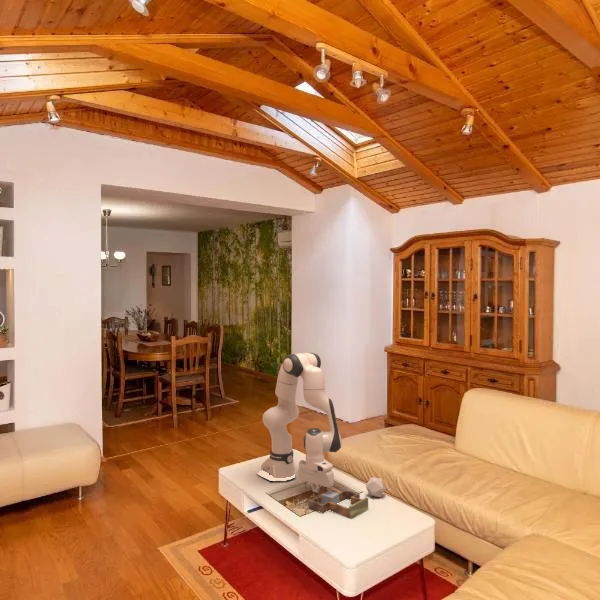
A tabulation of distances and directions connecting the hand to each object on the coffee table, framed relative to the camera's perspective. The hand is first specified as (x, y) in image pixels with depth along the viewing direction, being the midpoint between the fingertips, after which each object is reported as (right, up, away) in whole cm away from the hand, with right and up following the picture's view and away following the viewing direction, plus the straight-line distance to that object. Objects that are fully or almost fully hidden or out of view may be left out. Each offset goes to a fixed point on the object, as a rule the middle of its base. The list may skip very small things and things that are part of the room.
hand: (316, 492), depth 231 cm
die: (+29, -2, +1) cm, 29 cm away
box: (+10, -2, -10) cm, 15 cm away
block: (+7, -3, -7) cm, 10 cm away
